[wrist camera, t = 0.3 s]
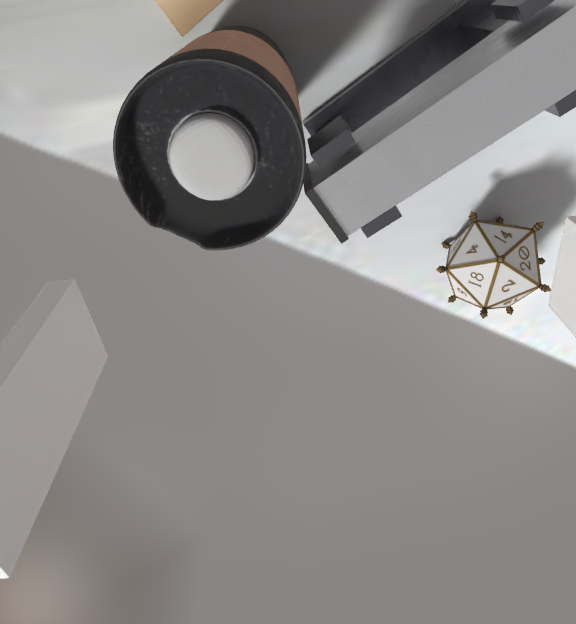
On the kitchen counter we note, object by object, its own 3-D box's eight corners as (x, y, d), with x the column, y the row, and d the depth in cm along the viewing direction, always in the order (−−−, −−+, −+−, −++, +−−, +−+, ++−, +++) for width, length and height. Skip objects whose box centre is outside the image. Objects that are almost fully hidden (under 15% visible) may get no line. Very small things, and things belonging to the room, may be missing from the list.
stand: (342, 179, 39) (363, 240, 30) (298, 114, 37) (306, 158, 27) (518, 58, 35) (610, 84, 25) (484, -27, 32) (573, -34, 22)
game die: (447, 214, 45) (454, 188, 36) (546, 229, 43) (581, 205, 33) (426, 308, 46) (427, 307, 36) (523, 328, 44) (551, 332, 34)
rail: (333, 213, 33) (341, 243, 29) (301, 167, 31) (305, 193, 27) (587, 44, 27) (639, 53, 23) (565, -22, 26) (617, -25, 22)
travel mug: (274, 4, 33) (273, 19, 16) (305, 118, 37) (331, 224, 20) (170, 43, 34) (68, 94, 17) (212, 149, 38) (162, 274, 21)
